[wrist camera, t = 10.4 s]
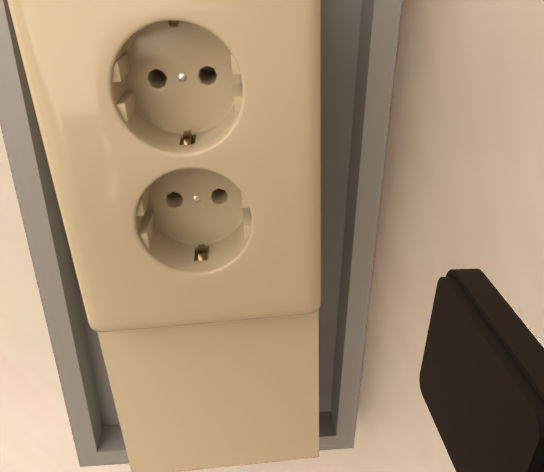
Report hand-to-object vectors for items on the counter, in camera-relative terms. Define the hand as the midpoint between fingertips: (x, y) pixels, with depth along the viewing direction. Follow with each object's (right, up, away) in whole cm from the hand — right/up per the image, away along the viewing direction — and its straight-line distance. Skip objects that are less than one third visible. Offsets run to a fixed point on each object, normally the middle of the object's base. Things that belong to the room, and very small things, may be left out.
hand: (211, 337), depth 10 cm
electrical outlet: (-1, +3, +8) cm, 9 cm away
